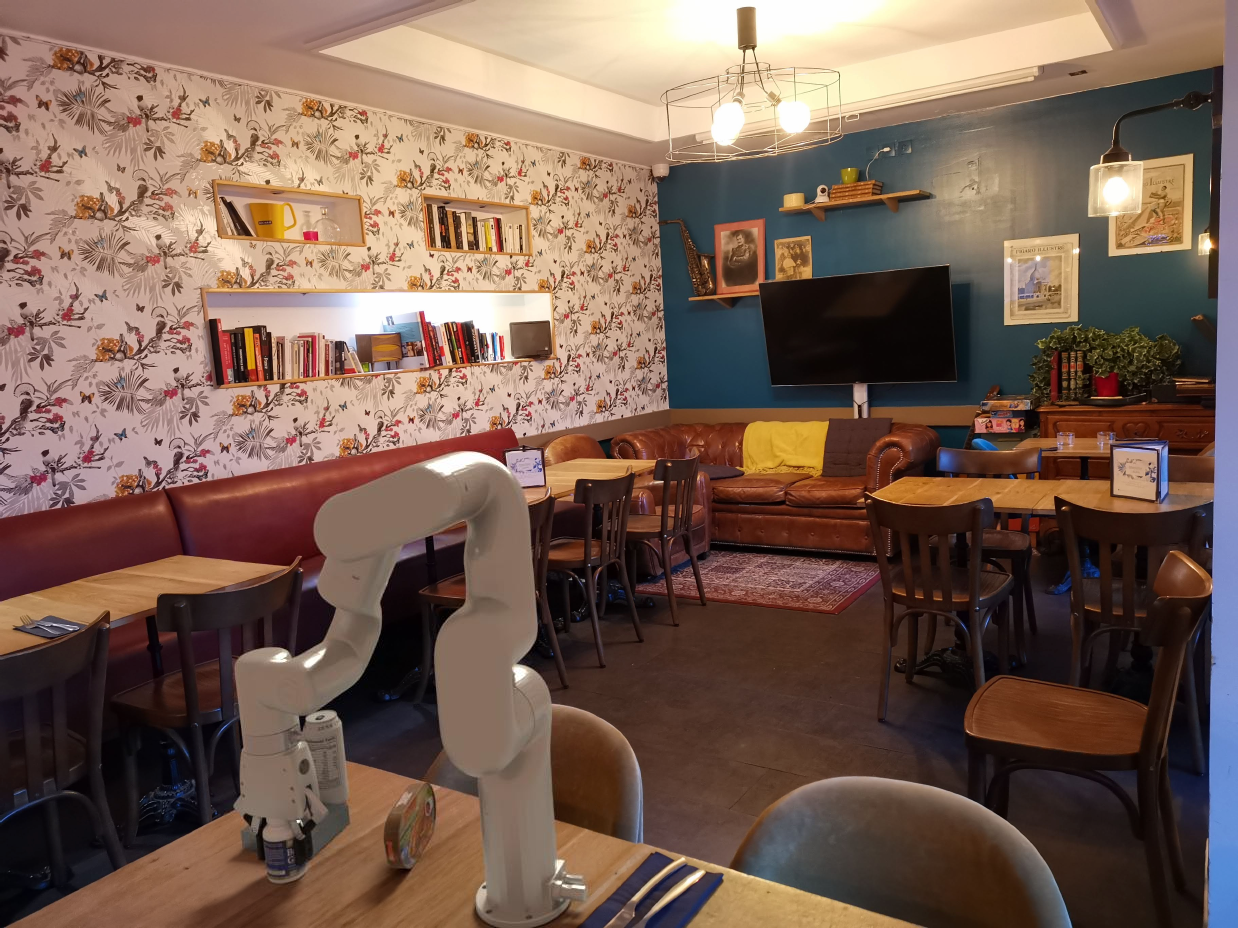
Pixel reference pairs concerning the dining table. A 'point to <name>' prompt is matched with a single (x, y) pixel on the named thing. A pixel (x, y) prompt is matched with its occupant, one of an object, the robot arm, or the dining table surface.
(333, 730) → the energy drink can
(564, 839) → the dining table surface
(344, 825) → the socket block
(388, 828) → the tin
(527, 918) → the robot arm
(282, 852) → the pill bottle
